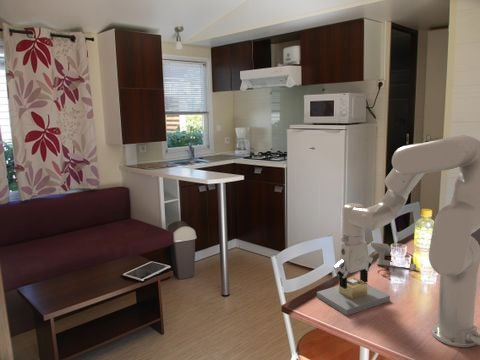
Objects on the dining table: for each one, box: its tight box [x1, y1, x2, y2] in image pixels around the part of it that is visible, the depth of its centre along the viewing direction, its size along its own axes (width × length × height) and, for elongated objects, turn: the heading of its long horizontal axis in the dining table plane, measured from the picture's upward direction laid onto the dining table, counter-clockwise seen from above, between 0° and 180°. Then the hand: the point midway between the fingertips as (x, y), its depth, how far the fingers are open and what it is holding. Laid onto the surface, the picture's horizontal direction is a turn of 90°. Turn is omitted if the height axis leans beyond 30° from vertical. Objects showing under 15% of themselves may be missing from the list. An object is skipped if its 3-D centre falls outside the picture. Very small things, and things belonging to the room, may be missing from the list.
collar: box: [338, 276, 368, 300], centre depth 150 cm, size 7×7×4 cm
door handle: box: [370, 242, 417, 271], centre depth 180 cm, size 18×8×20 cm
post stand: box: [316, 279, 391, 316], centre depth 150 cm, size 16×20×7 cm
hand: (353, 284), depth 149 cm, fingers open, 9 cm apart
